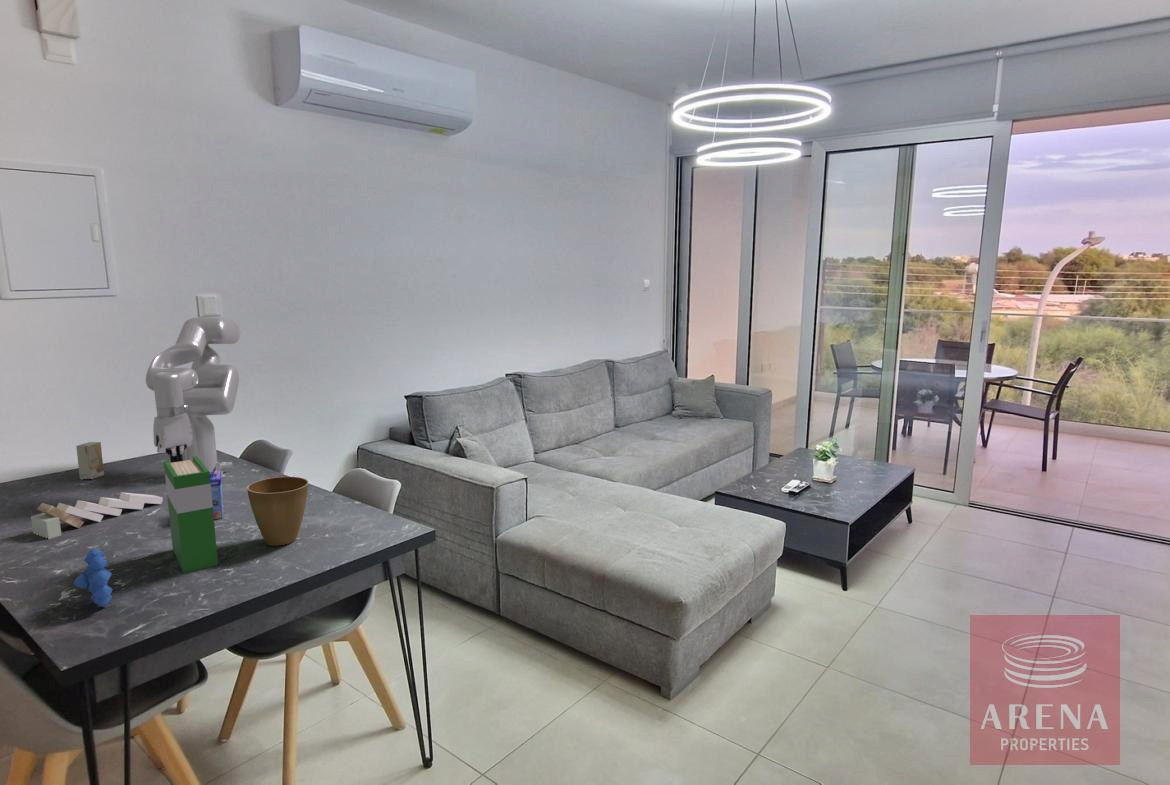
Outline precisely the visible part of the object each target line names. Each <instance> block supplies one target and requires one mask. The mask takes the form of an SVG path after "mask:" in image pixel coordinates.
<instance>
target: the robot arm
mask: <svg viewBox="0 0 1170 785" xmlns="http://www.w3.org/2000/svg"><path fill="white" fill-rule="evenodd" d="M240 338H241V330H240V326H239V325H238V324H237V322H235V321H234V320H231V319H226V318H223V317H192V318H189V319H187V320H185V322H183V325H182V328H181V330H180V332H179V334H178V337H177V340H176V341H175V344H174V345H172V346H170V347H168V348H166V349H164V350H163V351H161V352H160V353H158V354H157V355H156V356H154V358H153V359H152V360H151V362H150V364H149V366H148V368H147V372H146V375H145V384H146V387H147V388H148V389H150V390H151V391H152V392H153V393H154V401H155V408H156V416H155V417H154V419H153V430H152V432H153V433H152V434H153V445H154V446H155V447H156V448H157V449H156V452H157V453H160V454H162V453H163V454H165V453H166V454H167V455H168V456H169V462H170V463H173V462H180V461H184V460H183V454H184V453H185V454H184V456H185V461H187V460H193V457H194V456H197V457H198V458H199V459H200V461H201V462H202V463H203V464H204V465H205V467H206V468H207V469H208V470H209V472H212V471H213V469H214V468H215V466H216V470H215V472H216V471H221V476H222V475H223V474H224V469H225V468H233V461H228V462H227V461H222V462H220V461H218V456H217V447H216V446H217V444H216V443H217V442H216V433H215V432H216V431H215V426H214V424H213V422H212V421H211V419H210V418H208V416H221V415H222V416H223V415H228V414H230V413H231V412H232V411H233V410H234V407H235V403H236V398H237V393H238V389H239V384H240V383H239V382H240V376H239V371H238V369H237V367H235V366H234V365H232V364H221V356H220V355H219V354H218V352H216V350H214V349H213V348H212V347H211V346H210V345H233V344H236V343H238V341H239V340H240ZM190 363H191V367H190V368H189V367H180V366H183V365H186V364H190Z"/></svg>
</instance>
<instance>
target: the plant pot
mask: <svg viewBox="0 0 1170 785" xmlns="http://www.w3.org/2000/svg"><path fill="white" fill-rule="evenodd" d="M309 484H310V483H309V480H308V479H307V478H303V477H299V476H279V477H278V476H277V477H269V478H264V479H260V480H257V481H254V482H252V483H250V484H248V485H247V486H246V491H247V495H248V500H249V504H250V508H251V511H252V514H253V517H254V520H255V522H256V524H257V528H258V530H259V532H260V534H261V536H262V538H263V540H264V542H265V544H266V545H267V546H270V545H271V547H280V546H279V545H283V546H286V545H285V544H287V545H290V544H292V543H294V542H295V541H296V540H297V537H298V535H299V532H300V529H301V526H302V522H303V518H304V514H305V509H306V505H307V498H308V491H309ZM293 541H294V542H293ZM291 542H292V543H291ZM289 543H290V544H289Z"/></svg>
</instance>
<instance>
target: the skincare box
mask: <svg viewBox="0 0 1170 785" xmlns="http://www.w3.org/2000/svg"><path fill="white" fill-rule="evenodd" d="M75 447H76V456H77V466H78V473H79V480H83V479H92V480H94V478H95V479H97V478H100V477H102V476H104V475H105V470H104V461H103V454H102V453H103V452H102V443H101V441H88V442H85V443H81V444H78V445H76V446H75Z"/></svg>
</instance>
